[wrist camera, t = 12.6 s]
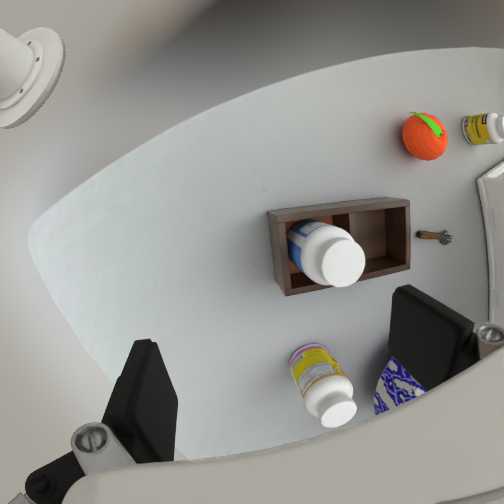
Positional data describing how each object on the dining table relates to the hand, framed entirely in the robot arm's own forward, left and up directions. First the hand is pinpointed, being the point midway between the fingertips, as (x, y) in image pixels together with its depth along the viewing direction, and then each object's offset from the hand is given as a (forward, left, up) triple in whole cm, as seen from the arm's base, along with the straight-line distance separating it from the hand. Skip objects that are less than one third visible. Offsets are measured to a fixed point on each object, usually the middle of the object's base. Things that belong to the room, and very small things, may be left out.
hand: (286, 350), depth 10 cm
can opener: (+19, +25, -26) cm, 41 cm away
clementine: (+3, +29, -26) cm, 39 cm away
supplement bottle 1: (+22, -3, -26) cm, 34 cm away
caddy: (+8, +10, -26) cm, 29 cm away
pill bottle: (+6, +7, -25) cm, 27 cm away
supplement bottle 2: (+9, +45, -26) cm, 53 cm away
